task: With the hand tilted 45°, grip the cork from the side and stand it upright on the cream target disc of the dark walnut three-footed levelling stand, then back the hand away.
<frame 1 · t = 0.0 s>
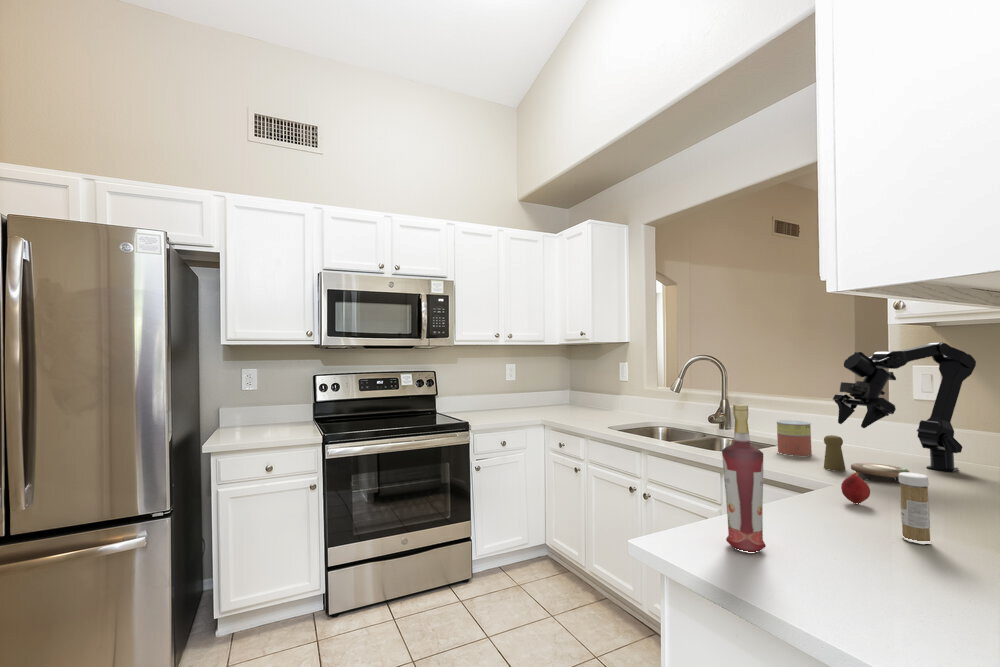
hand: (850, 425, 153), 15 cm above the countertop, tool tilted 35°, fingers open, 9 cm apart
canned food: (794, 454, 181), on the countertop
levelling stand: (879, 478, 144), on the countertop
cork: (834, 469, 156), on the countertop
sprinkles bottle: (916, 542, 94), on the countertop
onion: (856, 505, 118), on the countertop
liquor: (745, 550, 92), on the countertop
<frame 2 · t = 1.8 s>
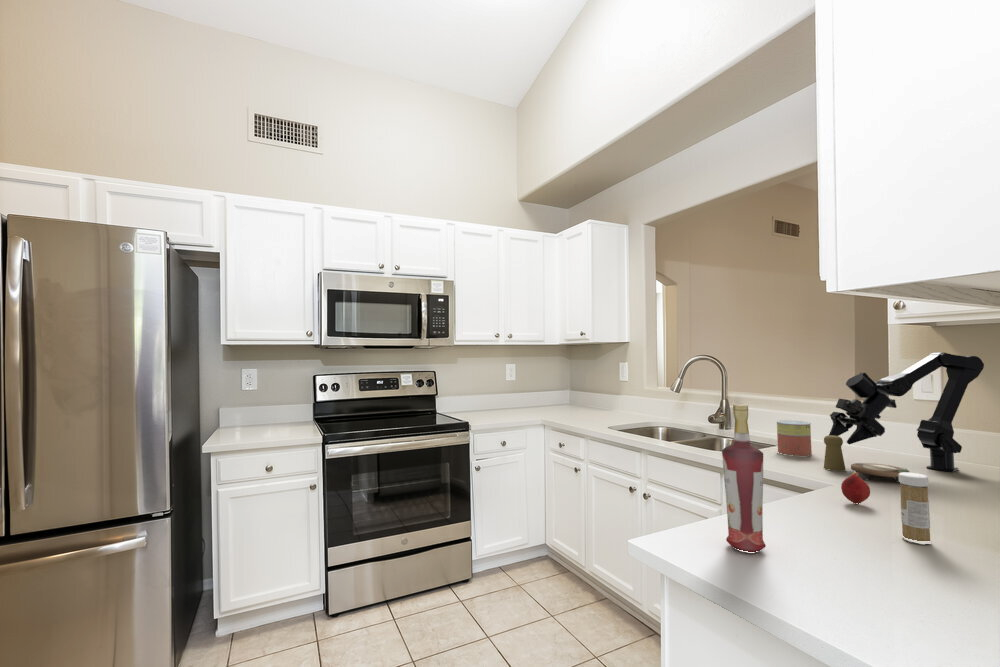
hand: (838, 440, 156), 9 cm above the countertop, tool tilted 45°, fingers open, 9 cm apart
nothing on the countertop moved.
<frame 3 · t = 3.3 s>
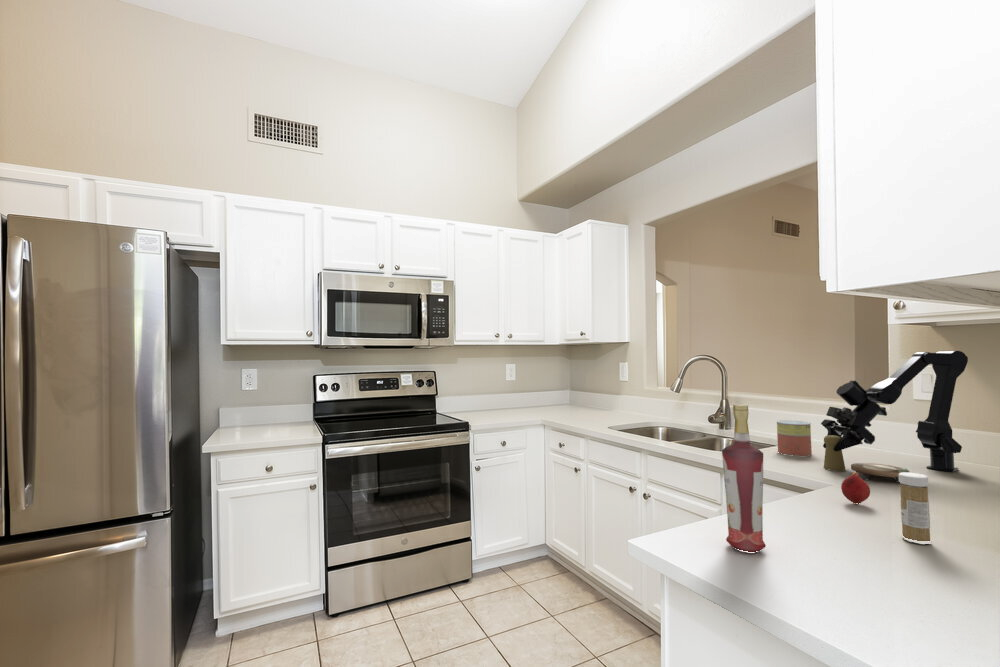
hand: (829, 448, 156), 7 cm above the countertop, tool tilted 45°, fingers closed on cork, 5 cm apart
cork: (834, 469, 156), on the countertop, touching gripper
everything else where it was.
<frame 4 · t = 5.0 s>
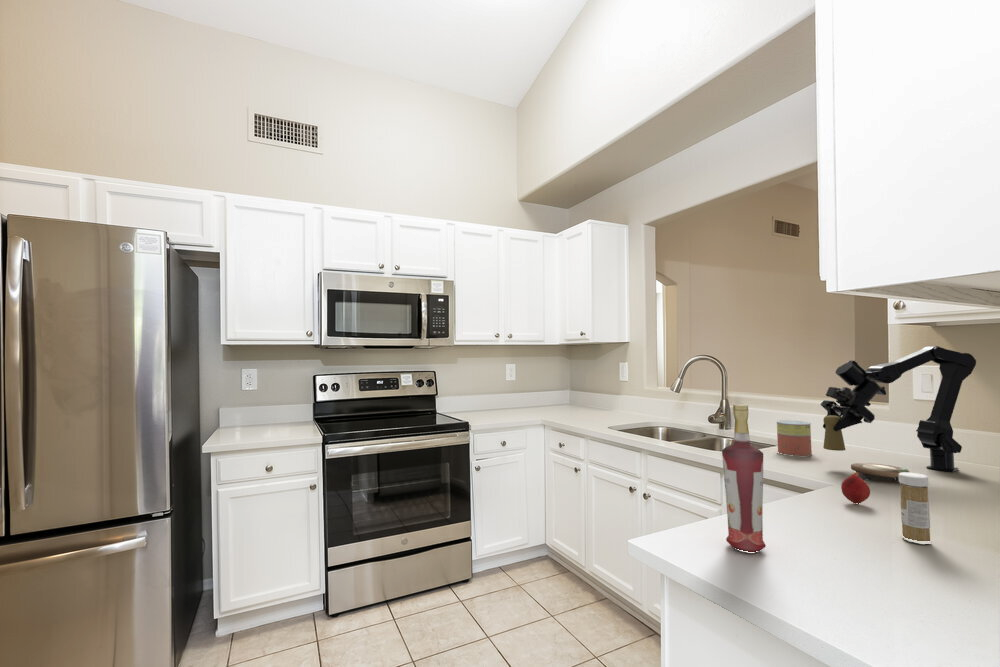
hand: (829, 429, 156), 13 cm above the countertop, tool tilted 45°, fingers closed on cork, 5 cm apart
cork: (834, 449, 156), point 6 cm above the countertop, touching gripper
everything else where it was.
when the fingers open (11 cm above the countertop, at t = 7.2 s): cork stays where it is, resting on levelling stand.
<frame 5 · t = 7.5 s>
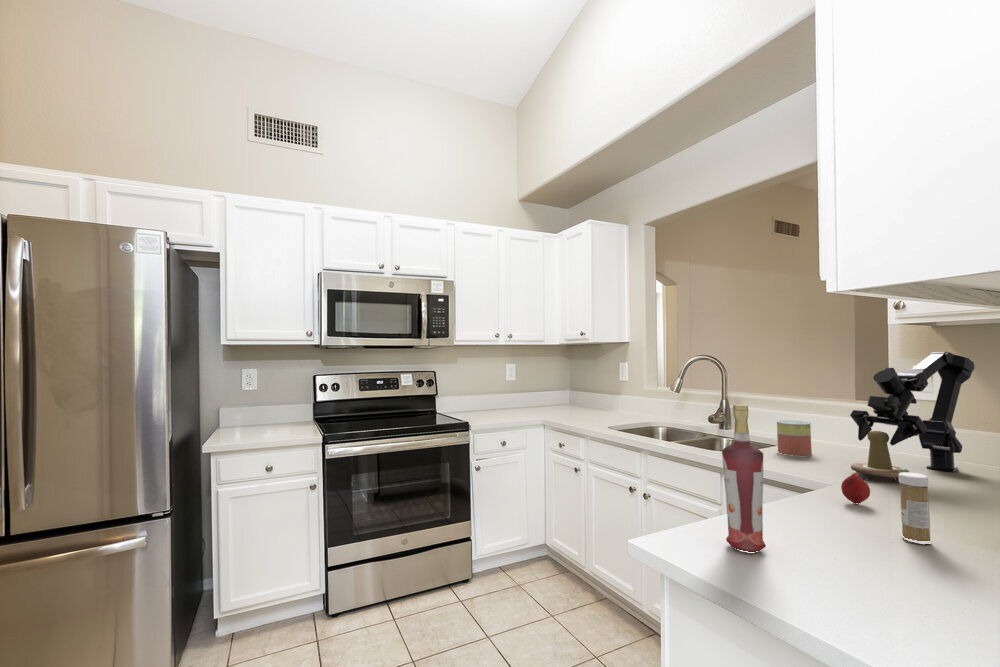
hand: (874, 442, 144), 11 cm above the countertop, tool tilted 45°, fingers open, 9 cm apart
cork: (879, 468, 144), point 3 cm above the countertop, touching levelling stand
everything else where it was.
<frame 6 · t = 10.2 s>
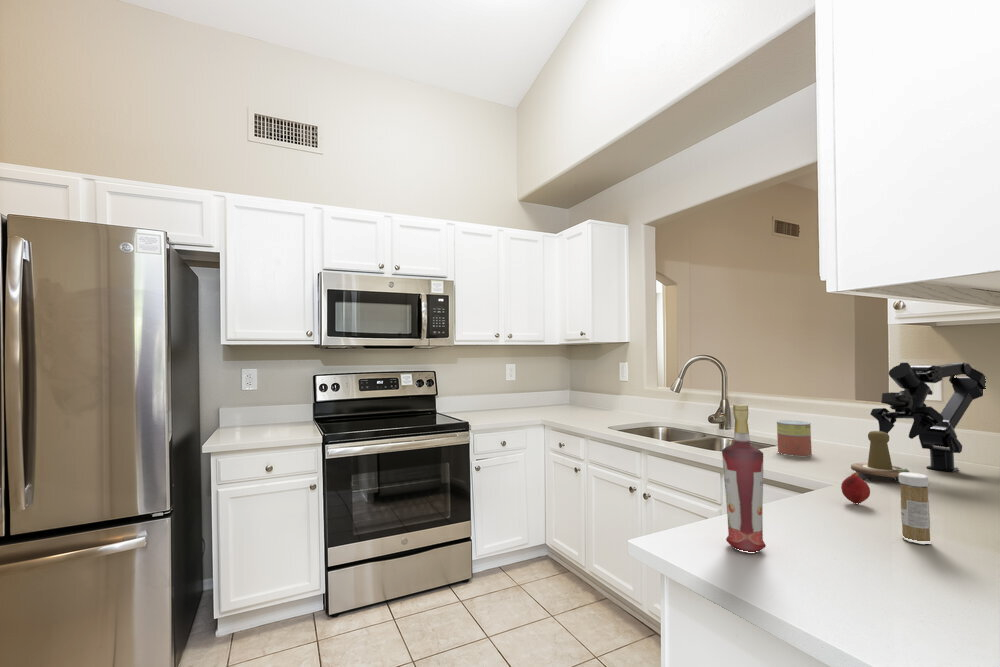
hand: (895, 437, 147), 12 cm above the countertop, tool tilted 40°, fingers open, 9 cm apart
nothing on the countertop moved.
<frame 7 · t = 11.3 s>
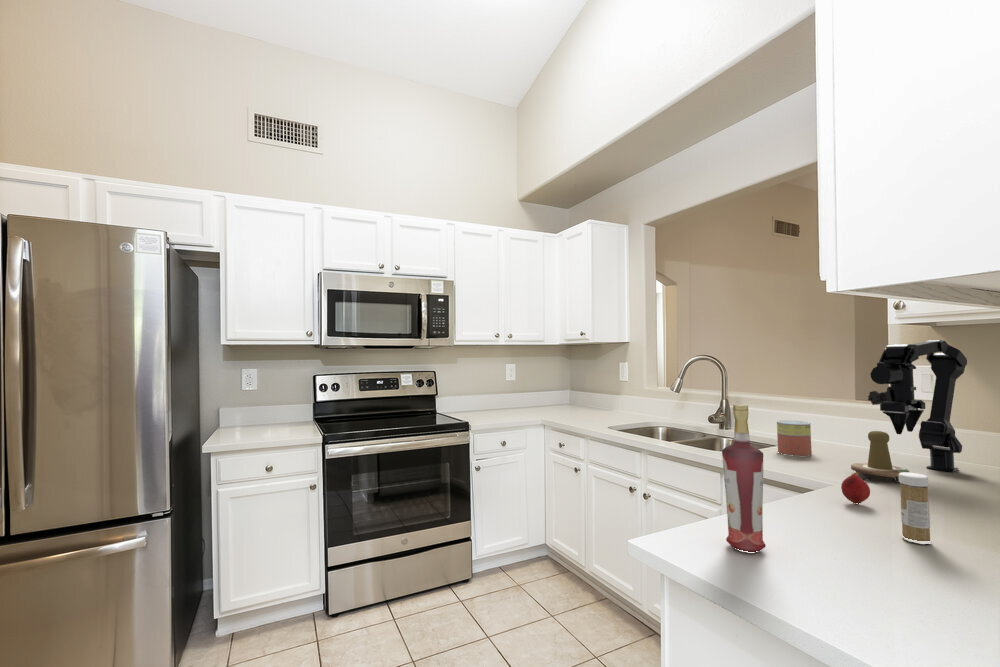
hand: (904, 432, 148), 13 cm above the countertop, tool pointing down, fingers open, 9 cm apart
nothing on the countertop moved.
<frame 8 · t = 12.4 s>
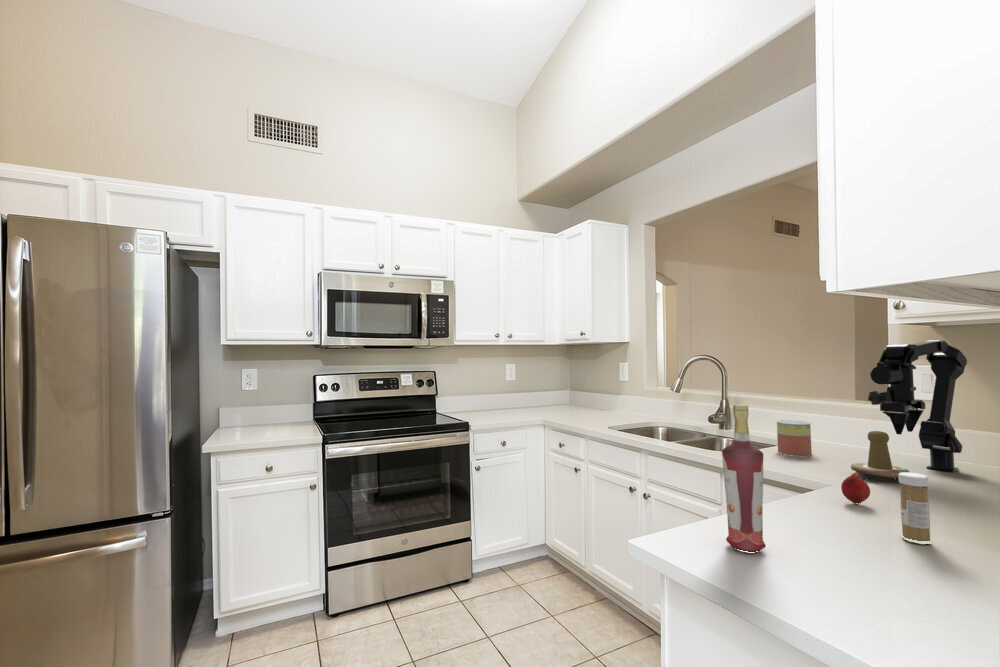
hand: (904, 433, 148), 13 cm above the countertop, tool pointing down, fingers open, 9 cm apart
nothing on the countertop moved.
at the end: cork inside the target area on the levelling stand (0.2 cm from its centre), point 3.0 cm above the levelling stand's base; cork tilted 0°; the gripper is holding nothing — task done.
